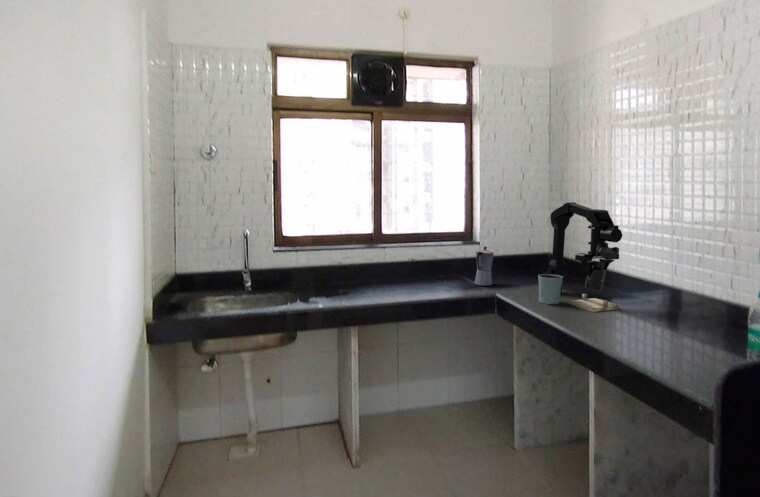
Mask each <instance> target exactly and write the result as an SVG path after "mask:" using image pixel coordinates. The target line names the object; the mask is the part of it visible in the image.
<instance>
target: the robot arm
mask: <svg viewBox="0 0 760 497" xmlns="http://www.w3.org/2000/svg"><path fill="white" fill-rule="evenodd" d="M575 215H577V216H580V217H583V218H585V219H586V221H587V222H588V223H590V224H589V225H587V229H590V241H587V244H588V245H590V248H589V250H588V251H587V253H584V252H579V253H578V252H577V253H576V254H575V256H574V260H575V261H579V262H581V264H582V266H583V268H584V269H585V272H586V274H588V276H591V273H592V265H593V264H594V263H595V262H593V259H594V260H595V259H599V260H598V261H601V262H604V263H605V264H604V267H603V268H604V269H605V271H606V272H607V270H608V268H609V266H610V265H611V263H613V262H615V260H620V248H619V247H617V246H613V247H609V243H608V242H610V243H619V242H620V241H622V237H623V232H622V229H620V228H619V225H616V224H614V221H613V219H612V218H611V215H610V213H609V210H607V209H598V208H596V209H593V208H591V207H588V206H584V205H583V204H582V205H581V204H579V203H576V202H574V201H573V202H565V203H564V204H563V205H562V206H559V207H558V208H555V210H553V211H552V212H550V224H551V227H552V228H553V239H552V241H553V242H552V254H551V256H552V257H551V258H552V259H551V260H550V261H549V263H548V265H547V270H546V271H545V273H544V274H553V275H560V276H562V277H563V279H562V281H565V279H566V276H567V273H568V263H566V262H565V261H564V254H565V240H566V239H565V238H566V237H565V236H566V229H567V228H568V226H569V225H570V222H571V219H572V217H574V216H575ZM562 292H563V285H562V286H561V293H560V295H562Z"/></svg>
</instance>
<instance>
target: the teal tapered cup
mask: <svg viewBox="0 0 760 497" xmlns="http://www.w3.org/2000/svg"><path fill="white" fill-rule="evenodd" d="M537 277H538V278H537V279H538V303H539V302H541V303H546V304H557V305H559V304H560V301H561V294H562V292H561V286H562V287H563V280H562V279H563V277H562V276H560V275H553V274H545V273H541V274H538V275H537ZM560 293H561V294H560ZM541 303H540V304H541ZM546 304H545V305H546Z"/></svg>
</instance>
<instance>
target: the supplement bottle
mask: <svg viewBox="0 0 760 497" xmlns="http://www.w3.org/2000/svg"><path fill="white" fill-rule="evenodd" d="M592 261H593V262H595V263H594V264H593V265H592V273H591V276H588V274H587V273H586V274H587V275H586V277H585V278H586V279H585V284H584V287H585V288H586V289H589V290H591V291H592V290H593V291H602V290H603V286H604V281H605V277H606V273H607V270H606V271H605V269H604V268H603V267H604V264H605V263H604V262H601V261H599V260H595V259H594V260H593V259H592Z"/></svg>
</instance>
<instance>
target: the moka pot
mask: <svg viewBox="0 0 760 497" xmlns="http://www.w3.org/2000/svg"><path fill="white" fill-rule="evenodd" d="M487 248H488V247H487V246H483V249H481V250H476V253H475V256H476V269H477V270H476V274H475V279H474V284H475V285H477V286H482V287H483V286H487V287H488V286H492V285H493V280H492V279H493V278H492V266H493V259H494V251H491V250H487Z"/></svg>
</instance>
